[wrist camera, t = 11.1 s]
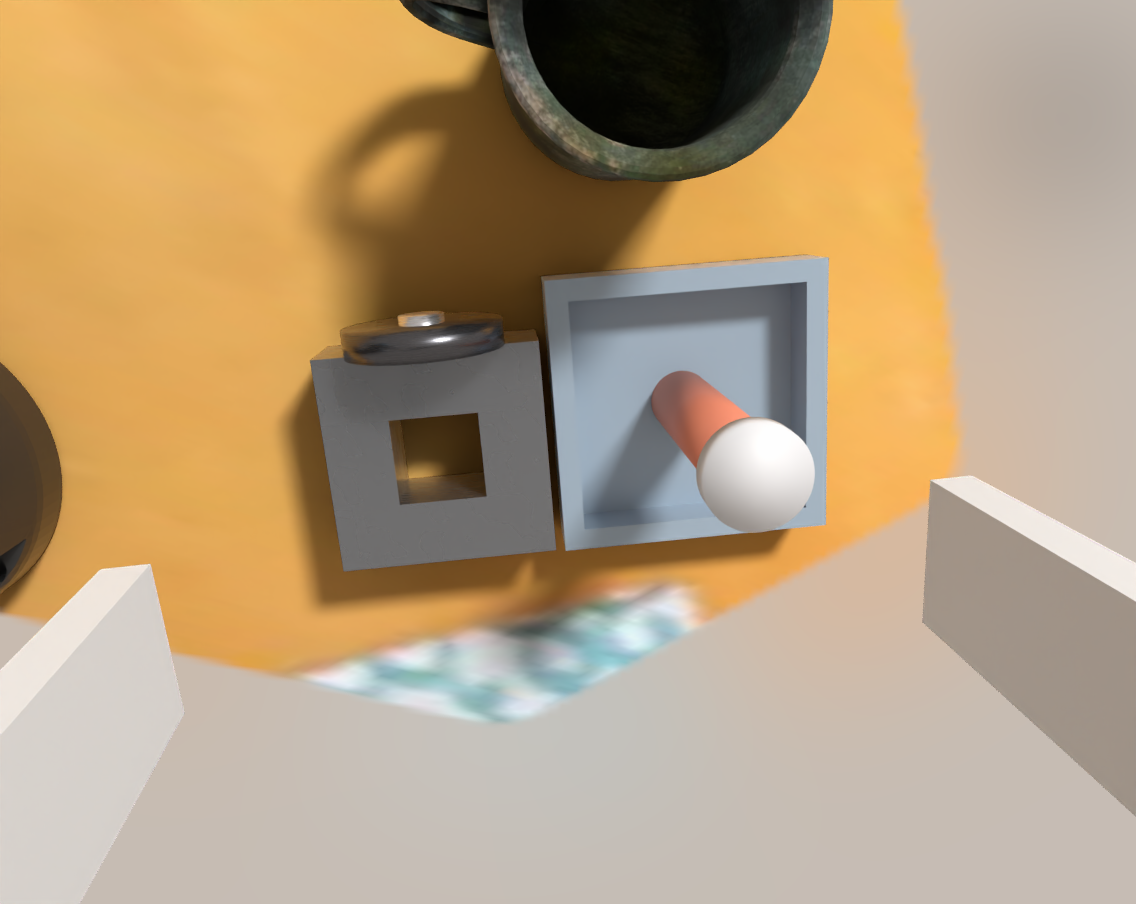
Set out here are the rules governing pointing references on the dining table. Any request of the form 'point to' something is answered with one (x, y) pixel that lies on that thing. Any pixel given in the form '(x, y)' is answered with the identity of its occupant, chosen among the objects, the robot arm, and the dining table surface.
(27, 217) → the dining table surface
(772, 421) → the pin
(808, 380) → the tray
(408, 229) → the dining table surface
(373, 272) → the dining table surface
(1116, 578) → the robot arm
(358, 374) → the block
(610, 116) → the mug
